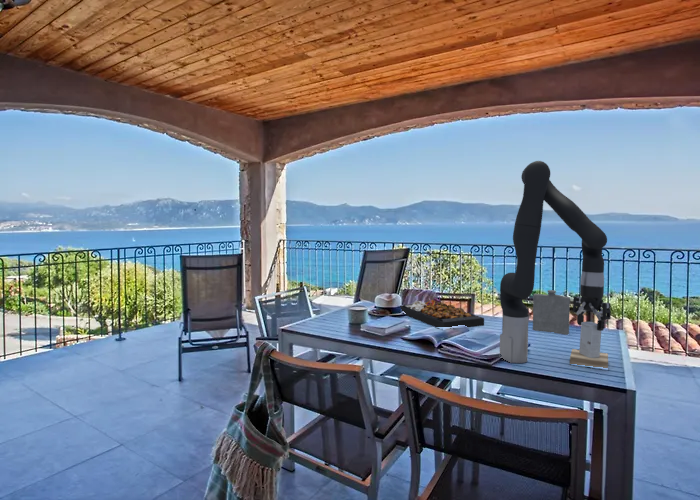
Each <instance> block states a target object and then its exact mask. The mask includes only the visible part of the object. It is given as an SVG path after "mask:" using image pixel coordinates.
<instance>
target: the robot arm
mask: <svg viewBox="0 0 700 500" xmlns="http://www.w3.org/2000/svg"><path fill="white" fill-rule="evenodd" d="M520 177H521V181H522V183H523V194H522V198H521V199H522V200H521V202H520V205H519V208H518V211H517V215H516V218H515V221H514V226H513V227H514V228H513V232H512V234H513V235H512V242H513V246H514V249H515V250H514V251H515V254H516V259H517V260H516V269H515V272H507V273H506V274H504V275H503V276H502V278H501V280H500V283H499V284H500V285H499V295H500V301H499V302H500V307H501V310H502V321H501V322H502V325H501V326H502V328H501V330H502V333H501V334H499V355H500V354H501V355H502V358H503V359H504V360H503V359H502V360H503V361H505V360H506V361H505V362H507V361H508V363H509V362H510V364H511V363H512V364H513V363H514V364H524V363H527V362H528V351H529V350H528V349H529V347H528V346H529V313H530V312H529V308H528V307H527V306H526V305H525V303H524V301H523V300H527V299H529V298H530V296H531V295H532V294H533V291H534V286H535V271H536V261H537V253H538V247H539V240H540V235H541V230H542V221H543V213H544V202H545V203H546V204H547V205H548V206H549V207H550V208H551V209H552V211H554V212H555V214H557V216H558V217H559V218H560V219H561V221H563V222H564V223H565V225H566V226H567V227H568V228H569V229H570V230H571V231H573V232H575V233H576V234H577V235H578V236H579V238H580V239H581V252H582V253H581V254H582V263H581V275H580V287H579V288H580V289H579V291H580V292H579V293H580V294H579V296H574V297H573V301H572V313H575V314H576V323H577V325H578V326H581V322H585V315H584V314H585V313H586V312H590V313H593V315H595V316H596V319H597V323H596V324H597V330H599V331H601V332H602V331H604V330H605V324H606V323H605V322H606V321H607V320H611V317H612V316H611V303H610V302H603V298H604V293H605V259H604V256H603V248H605V246H607V242H608V237H607V234H606V233H605V232H604V231H603V229H601V228H600V227H599V226H598V225H597V224H595V223H594V222H593V221H592V220H591V219H590V218H589V217H588V215H586V213H585V212H584V211H583V210H582V209H581V208H580V207H579V206H578V205H577V204H576V203H575V202H574V201H573V200H571V198H569V197H567V196H566V195H564V194H563V193H562V192H561V191H560V190H559V189H558V188H557V187H556V186H555V185H554V183H552V181H551V179H550V178H551V168H550V167H549V165H548V164H547V163H546V162H544V161H542V160H535V161H532V162H531V163H529V164H528V165H527V166H526V167H525V168H524V169H523V171H522V172H521V176H520Z"/></svg>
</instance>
